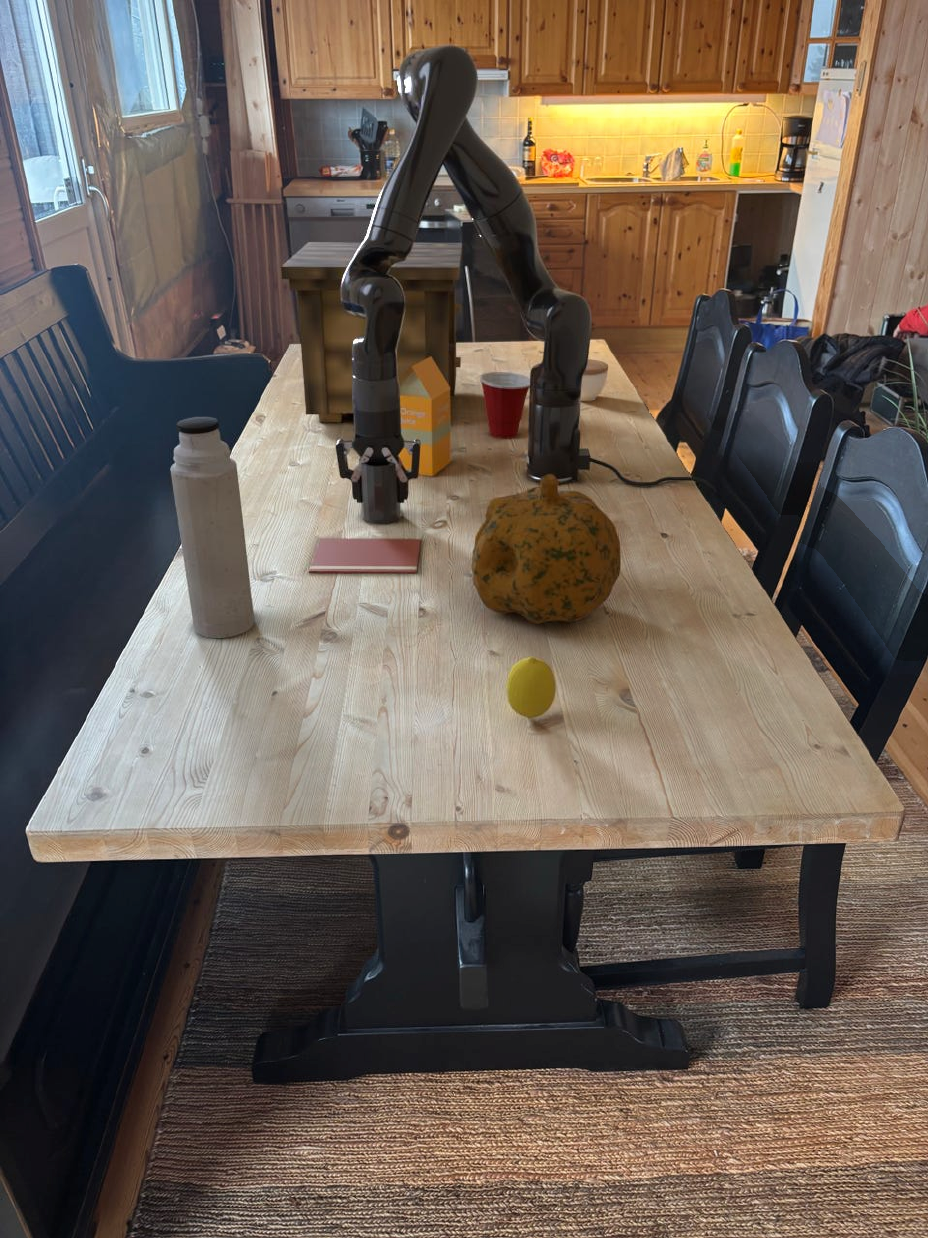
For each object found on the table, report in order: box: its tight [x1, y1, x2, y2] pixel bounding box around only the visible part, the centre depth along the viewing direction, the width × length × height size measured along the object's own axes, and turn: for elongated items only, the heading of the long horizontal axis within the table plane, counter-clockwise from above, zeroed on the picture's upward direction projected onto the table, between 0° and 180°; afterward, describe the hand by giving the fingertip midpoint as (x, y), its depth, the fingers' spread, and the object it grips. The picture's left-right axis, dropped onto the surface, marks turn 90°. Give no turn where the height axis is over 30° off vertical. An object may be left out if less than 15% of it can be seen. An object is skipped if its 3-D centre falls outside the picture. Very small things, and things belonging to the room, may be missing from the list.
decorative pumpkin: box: [470, 474, 622, 625], centre depth 132 cm, size 20×21×20 cm
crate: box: [280, 241, 463, 423], centre depth 216 cm, size 35×35×33 cm
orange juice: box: [398, 356, 452, 477], centre depth 183 cm, size 8×9×20 cm
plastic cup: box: [479, 371, 530, 439], centre depth 202 cm, size 11×11×12 cm
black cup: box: [358, 457, 402, 525], centre depth 163 cm, size 6×6×10 cm
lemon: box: [505, 656, 557, 720], centre depth 110 cm, size 6×6×8 cm
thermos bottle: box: [170, 416, 255, 639], centre depth 125 cm, size 8×8×28 cm
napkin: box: [308, 538, 421, 574], centre depth 151 cm, size 16×12×1 cm
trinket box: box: [581, 358, 609, 402], centre depth 227 cm, size 11×11×9 cm
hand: (380, 501), depth 164 cm, fingers closed on black cup, 6 cm apart
